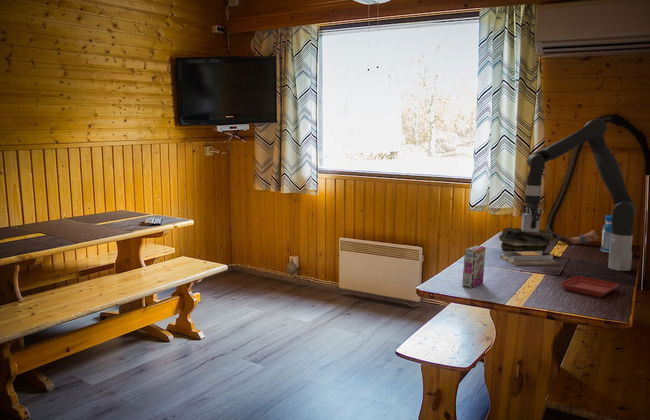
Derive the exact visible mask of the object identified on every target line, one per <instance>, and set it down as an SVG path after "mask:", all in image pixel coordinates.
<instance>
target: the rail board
mask: <svg viewBox="0 0 650 420" xmlns="http://www.w3.org/2000/svg"><path fill="white" fill-rule="evenodd" d="M499 258H500V259H501V260H503V261H506V262H507V263H509V264H511V265H514V266H515V267H517V266H518V267H519V266H525V267H526V266H556V265H557V261H556V260H555V259H554V260H552V261H512V260H510V259H508V258H506V257H504V254H501V255H500V257H499Z"/></svg>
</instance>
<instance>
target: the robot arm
mask: <svg viewBox="0 0 650 420" xmlns="http://www.w3.org/2000/svg"><path fill="white" fill-rule="evenodd" d="M607 128H608V125H607V123H606V122H605V120H603V119H601V118H593V119H591V120H589V121H588V122H586V123H585V124H584V126H583V127H582V128H580V129H578V130H577V131H575V132H574V133H573V132H572V134H570V135H568V136H565V137H563V138H562V139H559V140H558V141H556V142H554V143H552V144H550V145H549V146H547V147H546V148H543V149H541V150H538V151H536V152H534V153H532V154H530V155H529V156H528V157H527V159H526V164H527V165H528V166H529V173H528V174H527V176H526V186H525V189H524V190H525V191H524V203H525V204H526V205H525V204H524V205H522V214H523V213H525V214H530V216H531V219H532V221H531V228H532V229H535V228H536V221H539V219H540V220H541V214H542V209H541V208H539V206H538V205H540V204H541V202H542V201H541V199H542V181H543V174H544V170H545V167H546V166H545V164H546V163H547V162H549V161H553V160H556V159H557V158H559V157H562V156H563V155H565V154H567V153H568V152H569V151H572V150H573V149H575V148H576V147H578V146H580V145H582V144H583V143H586V142H587V143H588V145H589V148H590V149H591V153H592V155H593V160H594V162H595V164H596V165H595V166H596V167H597V170H598V174H599V176H600V178H601V180H602V182H603V184H604V185H605V187H606V189H607V190H608V191H609V193H610V195H611V196H610V197H611V199H612V202H613V205H614V206H613V208H612V214H611V215H612V226H611V227H612V233H611V242H610V252H609V254H608V265H607V267H608V268H609V269H611V270H614V271H619V272H622V271H627V272H628V271H631V267H632V261H633V251H632V245H633V238H634V237H633V235H634V220H635V215H636V213H637V208H636V205H635V204H634V201H633V200H632V198H631V196H630V193H629V191H628V189H627V187H626V182H625V179H624V176H623V173H622V169H621V166H620V164H619V162H618V159H617V158H616V156H615V155H614V154H613V152H612V150H610V148H609V146H608V144H607V143H606V139H605V136H604V135H605V133H606V132H607ZM537 216H538V218H537ZM533 217H534V218H533Z"/></svg>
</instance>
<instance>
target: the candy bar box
mask: <svg viewBox="0 0 650 420" xmlns="http://www.w3.org/2000/svg"><path fill="white" fill-rule="evenodd" d="M463 258H464V259H463V270H462V271H463V272H462V285H461V286H462V287H465V288H469V289H473V288H476V287H478V286H480V285H481V284H483V283H484V274H485V273H484V272H485V260H486V259H485V258H486V246H480V245H474V246H470V247H468V248H465V249H464V257H463Z"/></svg>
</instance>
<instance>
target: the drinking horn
mask: <svg viewBox="0 0 650 420" xmlns="http://www.w3.org/2000/svg"><path fill="white" fill-rule="evenodd" d="M545 228H546V229H547V232H550V233H552V235H553V238H554V240H556V241H557V242H561V243H564V244H570V245H584V244H587V243H591V242H592V241H595V240H597V239H599V235H598V234H597V233H596V232H595V230H594V229H593V230H590V231H589V232H587V233H585V234H580V235H578V236H575V237H567V236H566V237H565V236H561V234H556V233H555V232H553V231H552V230H551V229H550V226H549V225H547V226H546V227H545Z"/></svg>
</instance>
